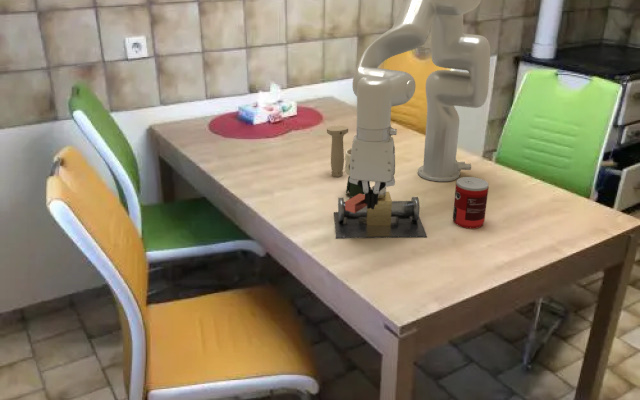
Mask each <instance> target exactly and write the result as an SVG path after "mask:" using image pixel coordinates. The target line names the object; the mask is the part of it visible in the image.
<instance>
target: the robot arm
mask: <svg viewBox="0 0 640 400" xmlns="http://www.w3.org/2000/svg"><path fill="white" fill-rule="evenodd" d="M481 2H482V0H402V3H401V4H400V5H401V6H400V7H399V10H398V12H397V15H396V17H395V20H394V23H393V25H392V27H391V28H390V29H388V30H387V31H385V32H384V33H382V34H380V36H378V37H377V38H376V39H375V40H373V41H372V42H371V43H370V44H369V45H368V46H367V47H366V48H365V50H364V51H363V53H362V54H361V57H360V59H359V62H358V64H357V66H356V69H355V72H354V75H353V78H352V92H353V94H354V95H355V96H356V135H354V137H353V139H352V140H353V141H352V144H351V148H352V150H351V159H350V178H349V182H350V183H353V184H357V185H359V186H360V187H361V188H362V189H363V191H364V193H365V204H367V209H369V208H371V209H374V207H375V205H377V204H378V192H379V191H380V190H382V189H383V188H384V187H386V188H389V187H394V186H395V184H396V180H395V173H396V150H395V149H396V148H395V140H394V137H393V136H397V132H398V129H397V128H394V127H392V125H391V121H392V120H391V119H392V107H397V106H401V105H404V104H406V103H408V102H410V100H411V99H412V98H413V96H414V94H415V91H416V80H415V79H414V77H413V76H412V74H411V73H408V72H406V71H401V70H394V69H389V68H387V69H386V68H379V67H380V65H381V64H382V63H384V62H385V61H387V60H388V59H390V58H392V57H395V56H397V55H400V54H404V53H406V52H410V51H413V50H415V49H418V48H420V47H422V46H423V45H424V44H425V43H426V41H427V39H428V38H429V37H428V36H429V34H430V55H431V61H432V64H433V65H435V66H436V67H439V68H444V69H438V70H434V71H432V72H431V73H430V74H428V76H427V78H426V80H425V95H426V124H425V125H426V126H425V137H424V138H425V139H424V150H423V152H424V153H423V165H420V166H419V167H418V169H417V175H418V176H420V177H421V178H423V179H424V180H429V181H433V182H440V183H441V182H452V181H455V180H457V179H459V177H460V174H461V170H464V171H471V170H472V164H471V163H466V162H465V161H457V152H458V151H457V150H458V142H459V141H458V139H459V131H460V130H459V129H460V115H459V113H458V111H457V109H456V108H455V107H462V108H463V107H464V108H473V109H476V108H481V107H482V106H484V105H485V103H486V102H487V98H488V94H489V87H490V85H489V82H490V68H491V67H490V66H491V46H490V42H489V40H488V39H487V38H486V37H485V36H483V35H479V34H469V33H465V32H464V15H465V14H468V13H469V12H472V11H473V10H476V8H478V6H479V5H480V3H481ZM449 69H451V70H449ZM458 70H462V71H458ZM464 71H465V72H464ZM466 71H467V72H466ZM370 182H371V183H372V182H373V183H374V185H373V186H374V188H373V190H372V186H371V183H370Z"/></svg>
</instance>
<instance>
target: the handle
mask: <svg viewBox="0 0 640 400" xmlns="http://www.w3.org/2000/svg"><path fill="white" fill-rule="evenodd" d="M348 133H349V127H348V126H346V125H332V126H328V127H326V134H327V135H329V136H331V149H330V153H331V154H330V167H331V168H330V169H331V175H332V177H334V178H335V177H336V178H340V177H342V176H343V173H344V167H345V165H344V164H345V152H344V151H345V149H344V136H345V135H346V134H348Z"/></svg>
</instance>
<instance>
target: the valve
mask: <svg viewBox="0 0 640 400" xmlns="http://www.w3.org/2000/svg"><path fill="white" fill-rule="evenodd" d="M390 193H391V192H390V191H386V196H385V197H384V198H378V204H377V205H375V207H374V209H371V208H369V209H367V206H366V207H364V208H362V209H361V210H359V211H357V212H356V213H353V212H350V211H347V210H345V201H344V197H338V199H337V200H338V201H337V211H335V212H333V218H334V229H335V239H390V238H391V239H397V238H398V239H399V238H402V239H406V238H409V239H411V238H428V236H427V233H426V230H425V227H424V225H423V223H422V219H421V217H420V209H421V207H420V199H419V197H418V196H412V197H411V200H392V197H391V194H390Z"/></svg>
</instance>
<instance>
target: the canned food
mask: <svg viewBox="0 0 640 400" xmlns="http://www.w3.org/2000/svg"><path fill="white" fill-rule="evenodd" d="M454 191H455V192H454V200H453V213H452V220H453V223H454V224H455V225H457V226H458V227H460V228H464V229H479V228H481V227H482V226H483V225H484V223H485V219H486V218H485V217H486V210H487V202H488V194H489V182H488V181H486V180H485V179H483V178H481V177H476V176H475V177H474V176H462V177H460V178H459V177H458V178H457V179H456V183H455V190H454Z"/></svg>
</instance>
